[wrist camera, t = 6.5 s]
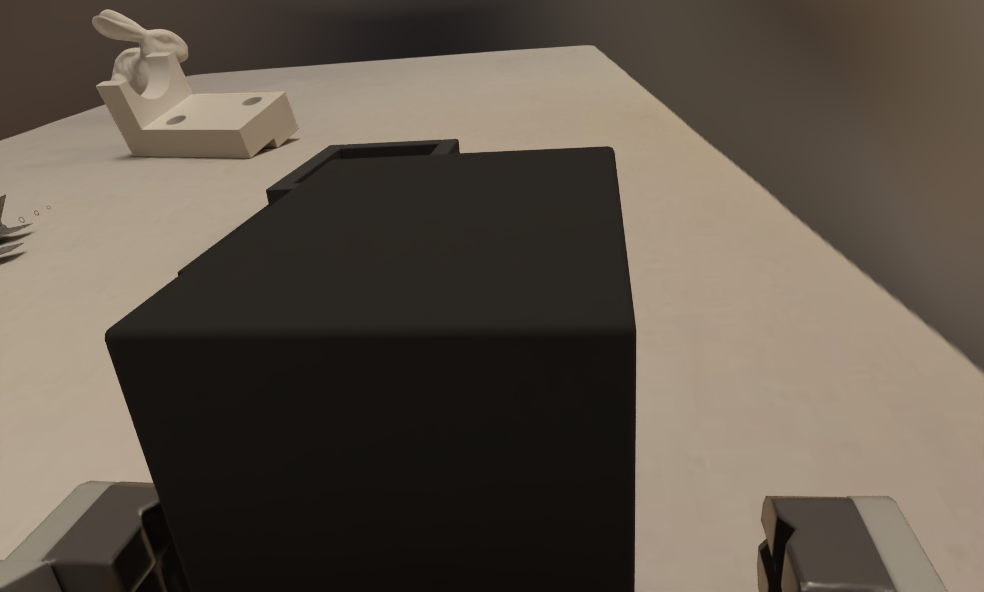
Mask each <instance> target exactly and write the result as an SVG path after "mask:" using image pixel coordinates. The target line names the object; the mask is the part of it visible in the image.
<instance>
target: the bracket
mask: <svg viewBox="0 0 984 592" xmlns="http://www.w3.org/2000/svg"><path fill="white" fill-rule="evenodd" d="M145 58H146V61H147V64H148V69H149V81H148V85H147V88H146V90H145V91H144V93H143V94H142V95H141V96H140V95H139V94H137V93H136V92H135V91H134V90H133V89H132V88H131V87H130V85H129V84H128V82H127V80H125V81H103V82H102V83H100V84H98V85H97V86H96V87H97V89H98V91H99V93H100V95H101V96H102V98H103V100H104V102H105V104H106V106H107V108H108V109H109V111H110V113H111V115H112V117H113V119H114V121H115V123H116V124H117V126H118V128H119V130H120V132H121V134H122V136H123V138H124V139H125V141H126V143H127V145H128V147H129V149H130V151H131V153H132V154H133V156H152V157H207V158H252V157H253V156H254V155H255V154H256V153H257V152H259V151H260V150H261V149H262V148H278V147H279V146H280V145H281V144H283V143H284V142H285V141H286V140H287V139H288V138H289V137H290V136H291V135H292V134H294V133H295V132H296V131H297V130H298V129H299V128H298V125H297V123H296V120H295V117H294V115H293V112H292V109H291V106H290V104H289V101H288V98H287V95H286V93H285V92H260V93H215V94H193V93H192V91H191V89H190V87H189V84H188V82H187V80H186V78H185V75H184V73H183V71H182V69H181V67H180V64H179V62H178V60H177V58H176V55H175V53H174V52H157V53H151V54H149V55H147V56H145Z"/></svg>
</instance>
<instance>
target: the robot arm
mask: <svg viewBox="0 0 984 592" xmlns="http://www.w3.org/2000/svg"><path fill="white" fill-rule="evenodd" d="M761 521H762V525H763V528H764V532H765V535H766V538H767V539H766V540H764V541H763V542H762V543H761V544H760V545H759V546H758V560H757V574H758V589H759V592H948V591H947V589H946V587H945V586H944V584H943V582H942V580H941V579H940V577H939V575H938V574H937V572H936V570H935V568H934V567H933V565H932V563H931V561H930V560H929V558H928V556H927V555H926V553H925V551H924V549H923V548H922V546H921V544H920V542H919V541H918V539H917V537H916V536H915V534H914V532H913V530H912V529H911V527H910V525H909V524H908V522H907V520H906V518H905V517H904V515H903V513H902V511H901V510H900V508H899V506H898V505H897V503H896V501H895V500H893V499H892V498H890V497H889V496H847V497H808V496H766V497H765V499H764V502H763V507H762V516H761ZM0 592H191V591H190V588H189V585H188V582H187V579H186V577H185V574H184V571H183V568H182V565H181V562H180V559H179V556H178V553H177V550H176V547H175V544H174V541H173V538H172V535H171V533H170V530H169V527H168V524H167V521H166V518H165V515H164V512H163V509H162V506H161V503H160V500H159V497H158V494H157V492H156V489H155V486H154V483H142V482H106V481H89V482H86V483H83V484H80V485H78V486H77V487H76V488H75V489H74V490H73V491H72V492H71V493H70V494H69V495H68V496H67V497H66V498H65V499H64V500H63V501H62V502H61V503H60V504H59V505H58V506H57V507H56V508H55V509H54V510H53V511H52V512H51V513H50V514H49V515H48V516H47V518H46V519H45V520H44V521H43V522H42V523H41V524H40V525H39V526H38V527H37V528H36V529H35V530H34V531H33V532H32V533H31V534H30V535H29V536H28V537H27V538H26V539H25V540H24V541H23V542H22V543H21V544H20V545H19V546H18V547H17V548H16V549H15V550H14V551H13V552H12V553H11V554H10V555H9V556H8V557H7V558H6V559H5V560H0Z"/></svg>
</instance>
